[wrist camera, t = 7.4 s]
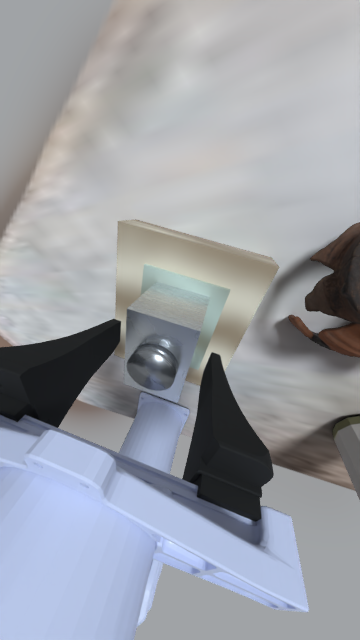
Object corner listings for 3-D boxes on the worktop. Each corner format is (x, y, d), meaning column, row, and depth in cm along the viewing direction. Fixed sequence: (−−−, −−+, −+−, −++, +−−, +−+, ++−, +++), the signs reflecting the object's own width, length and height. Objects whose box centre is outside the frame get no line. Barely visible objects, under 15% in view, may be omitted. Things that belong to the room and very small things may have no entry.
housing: (190, 359, 18) (174, 415, 13) (148, 345, 19) (116, 394, 14) (210, 296, 14) (197, 342, 9) (156, 281, 15) (117, 316, 10)
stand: (216, 371, 23) (214, 393, 20) (126, 339, 24) (113, 356, 21) (271, 257, 15) (280, 268, 12) (135, 219, 16) (115, 221, 13)
